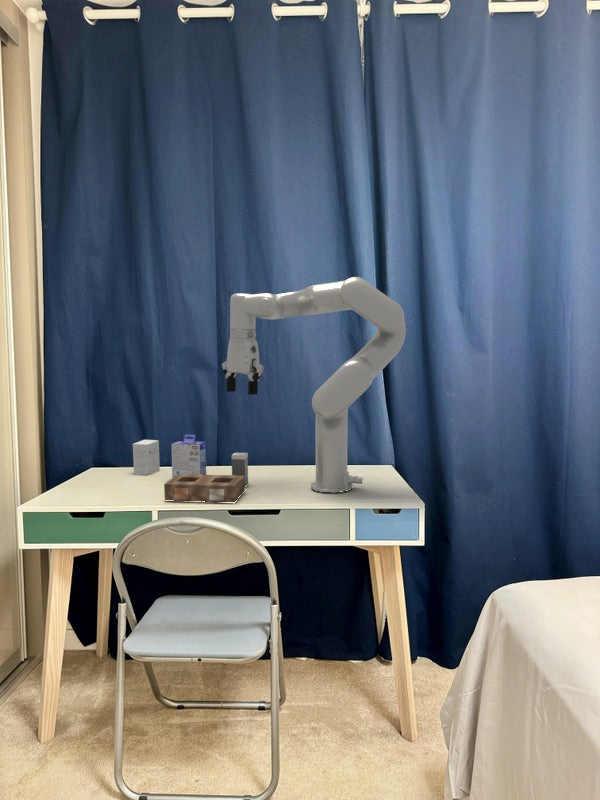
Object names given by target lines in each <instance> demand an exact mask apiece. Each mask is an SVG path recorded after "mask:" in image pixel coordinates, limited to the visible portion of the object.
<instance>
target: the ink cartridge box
mask: <svg viewBox="0 0 600 800" xmlns="http://www.w3.org/2000/svg"><path fill="white" fill-rule="evenodd" d="M188 437H189V438H188ZM190 437H191V438H190ZM195 439H196V434H186V433H185V434H184V438H183V441H175V442H173V443H171V479H172V478H174V477H175V476H177V475H178V474H196V475H207V450H206V441H196V440H195Z"/></svg>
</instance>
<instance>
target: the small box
mask: <svg viewBox="0 0 600 800" xmlns="http://www.w3.org/2000/svg"><path fill="white" fill-rule="evenodd" d="M132 455H133V475H138V476H139V475H140V476H149V475H151V474H154V473H156V472H158V471H160V466H161V465H160V463H161V462H160V441H159V439H157V440H155V439H142V440H139V441H137V442H135V443H132Z"/></svg>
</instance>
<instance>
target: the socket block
mask: <svg viewBox="0 0 600 800" xmlns="http://www.w3.org/2000/svg"><path fill="white" fill-rule="evenodd" d="M163 486H164V487H163V488H164V489H163V490H164V492H163V493H164V501H165V500H174V501H201V502H202V501H205V502H235V501H236V500H237V499H238V497H239V496H240V495H241V494H242V493H243V492H244V491H245V489H246V488H245V481H244V476H239V475H232V474H231V475H230V474H229V475H228V474H206V475H196V474H178V475H177V476H175V477H174V478H172V477H171V479H170V480H167V482H165V483H164V485H163ZM245 492H246V491H245ZM238 500H239V499H238Z"/></svg>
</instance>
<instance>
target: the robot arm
mask: <svg viewBox="0 0 600 800" xmlns="http://www.w3.org/2000/svg"><path fill="white" fill-rule="evenodd" d="M229 305H230V306H229V307H230V311H229V313H230V314H229V340H228V346H227V353H226V360H225V361H224V362H222V363H221V367H222V370H223V371H222V372H223V373H224V377H225V379H226V388H225V389H226V392H228V393H231V392H236V385H237V384H236V382H237V380H236V375H237V374H238V375H239V374H240V375H247V377H248V379H249V381H248V383H247V384H248V385H247V387H248V389H247V394H248V395H250V396H251V395H252V396H253V395H258V392H259V391H258V390H259V389H258V386H259V383H258V382H259V381H260V378H261V377H262V375H263V372H264V369H265V368H264V367H265V366H263V365H262V364H261V363H260V353H259V345H258V340H256V337H257V332H256V325H257V324H256V322H257V321H256V320H257V319H256V318H258V319H263V320H264V319H265V320H279V319H280V320H281V319H288V318H294V317H295V318H296V317H301V316H315V315H322V314H328V313H335V312H337V313H338V312H343V311H351V310H352V311H354V312H355V313H356V314H358V315H359V316H360V317H362V318H363V319H365V320H366V321H368V322H369V323H370V324H371V325H373V326H375V327H376V332H375V334H374V335H373V336H372V338H371V339H370V340H369V341H368V342H367V343H366V344H365V345H364V346H363V347H362V348H361V349H360V350H359V351H358V352H357V353H356V354H355V355H354V356H352V357H351V358H350V359H348V360H346V361H345V362H344V363H343V364H342V365H341V366H340V367H339V368H338V369H337V370H336V371H335V372H334V373H333V374H332V375H331V376H330V377H329V378H328V379H326V381H325V382H323V384H322V385H321V386H320V387H318V389H317V390H316V391H315V392H314V394H313V396H312V399H311V406H312V407H311V408H312V410H313V412H314V413H315V426H314V427H315V432H314V433H315V434H314V435H315V481H313V482H311V483H310V489H311V490H312V489H313V490H312V491H314V490H315V491H314V492H317V491H320V492H319V493H321V492H340V491H346V490H349V489H351V488H352V487H353V484H356V485H363V477H362V476H361V477H360V476H358V475H357V476H356V475H355V476H353V475H350V471H348V433H349V431H348V426H349V425H348V422H349V421H348V418H349V417H348V415H349V408H350V406H351V405H352V404H353V403H355V401H356V400H358V399H359V398H360V397H361V396H362V395H363V394H364V393H365V392H366V391H367V390H368V389H369V388H370V386H371V385H372V384H373V380H374V379H376V377H377V376H378V375H379V374H380V373H381V372H382V371H383V369H385V368H386V366H387V365H388V364H389V363H390V362H392V360H393V359H394V358H395V357H396V356H397V354H398V353H399V352H400V350H401V348H402V347H403V345H404V343H405V340H406V339H405V338H406V334H407V327H406V321H405V312H404V310H403V308H402V306H401V305H400V304H399V303H398V302H396V301H395V300H394V299H392V298H391V297H388V295H386V294H385V293H384V292H382V291H380V290H379V289H378V288H376V287H375V286H373V285H372V283H370V282H368V281H367V280H366V279H364V278H362V277H360V276H352V277H348V278H347V279H345V280H341V281H339V280H338V281H334V282H326V283H320V284H319V283H318V284H312V285H309V286H307V287H305V288H303V289H301V290H296V291H292V292H285V293H278V294H275V293H274V294H273V293H270V292H264V293H263V292H261V293H255V294H254V293H253V294H252V293H240V292H239V293H233V294H232V295H231V296H230V304H229ZM353 488H354V487H353ZM353 488H352V489H353Z"/></svg>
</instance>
